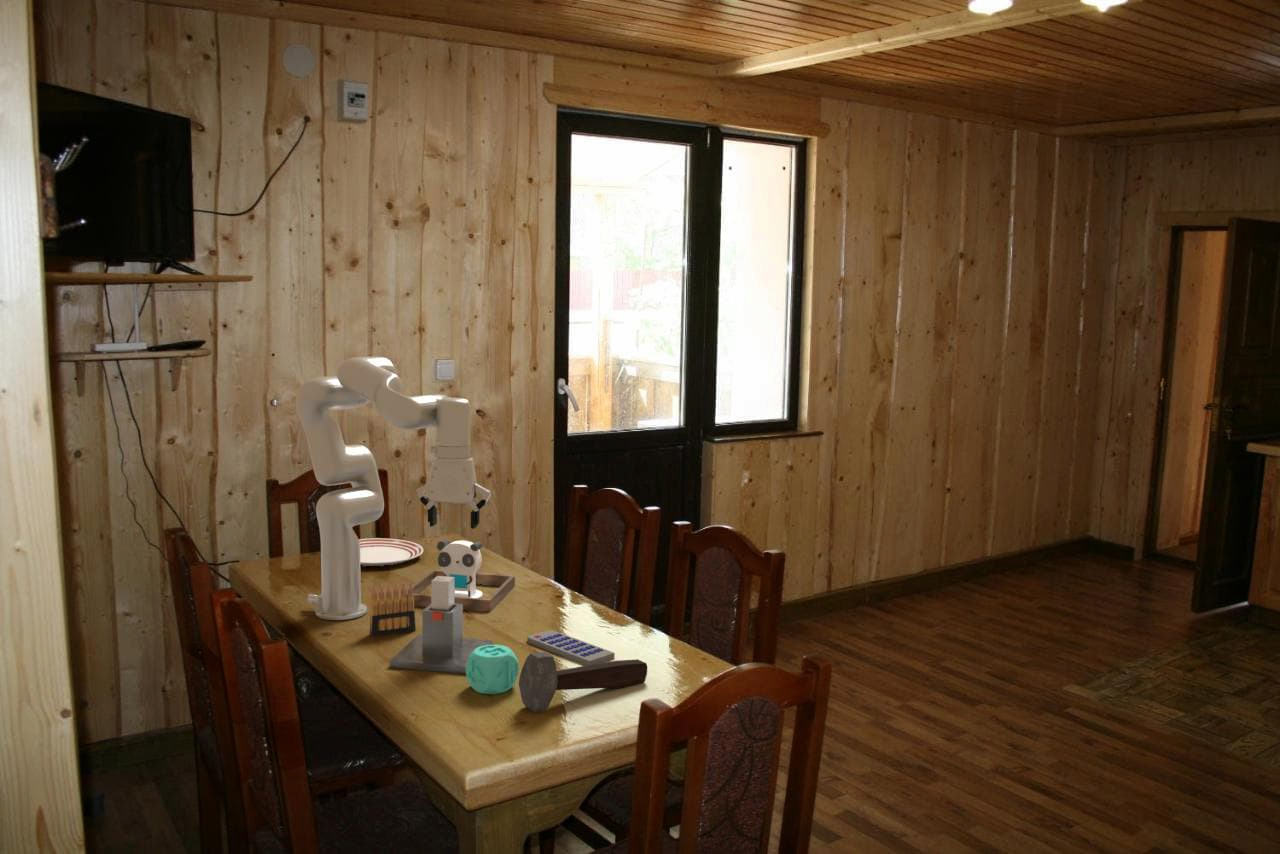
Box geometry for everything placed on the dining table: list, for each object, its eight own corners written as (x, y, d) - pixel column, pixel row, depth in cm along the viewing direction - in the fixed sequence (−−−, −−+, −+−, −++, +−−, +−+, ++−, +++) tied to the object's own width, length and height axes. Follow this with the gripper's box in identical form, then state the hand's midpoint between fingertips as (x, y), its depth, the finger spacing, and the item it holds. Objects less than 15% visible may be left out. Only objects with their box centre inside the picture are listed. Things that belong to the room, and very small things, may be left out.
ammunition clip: (371, 636, 250) (371, 587, 248) (369, 634, 251) (369, 585, 250) (415, 630, 255) (415, 582, 253) (413, 628, 256) (413, 580, 255)
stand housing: (389, 667, 230) (389, 616, 229) (418, 640, 248) (418, 593, 247) (468, 674, 228) (469, 622, 226) (492, 646, 245) (493, 598, 244)
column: (430, 652, 236) (431, 580, 234) (437, 646, 240) (437, 575, 238) (448, 653, 235) (448, 582, 233) (454, 647, 239) (454, 577, 237)
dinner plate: (442, 557, 323) (442, 547, 323) (375, 576, 301) (375, 565, 300) (378, 543, 338) (378, 533, 338) (310, 561, 315) (310, 550, 315)
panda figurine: (430, 598, 281) (430, 543, 279) (449, 587, 292) (449, 534, 290) (471, 603, 278) (472, 548, 276) (489, 591, 288) (489, 538, 286)
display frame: (401, 604, 275) (401, 593, 274) (432, 580, 298) (432, 569, 298) (490, 611, 271) (490, 600, 271) (515, 585, 295) (515, 575, 294)
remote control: (589, 669, 234) (589, 659, 234) (523, 642, 250) (523, 634, 250) (614, 660, 240) (614, 651, 240) (548, 635, 256) (549, 626, 255)
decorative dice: (490, 697, 215) (490, 660, 214) (464, 687, 221) (465, 650, 219) (519, 687, 221) (519, 650, 220) (493, 677, 227) (494, 641, 225)
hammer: (632, 693, 229) (515, 706, 210) (639, 643, 229) (522, 651, 210) (646, 700, 226) (528, 715, 207) (653, 649, 225) (536, 659, 206)
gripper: (411, 453, 236) (411, 528, 238) (486, 456, 234) (486, 532, 236) (422, 448, 243) (422, 521, 246) (495, 451, 241) (494, 524, 244)
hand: (453, 526), depth 241 cm, fingers open, 9 cm apart
